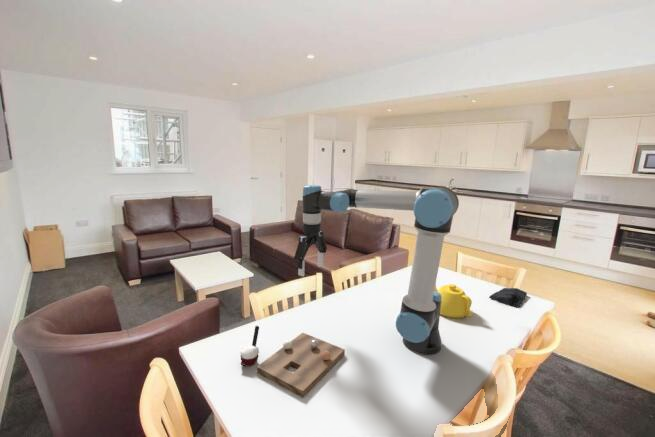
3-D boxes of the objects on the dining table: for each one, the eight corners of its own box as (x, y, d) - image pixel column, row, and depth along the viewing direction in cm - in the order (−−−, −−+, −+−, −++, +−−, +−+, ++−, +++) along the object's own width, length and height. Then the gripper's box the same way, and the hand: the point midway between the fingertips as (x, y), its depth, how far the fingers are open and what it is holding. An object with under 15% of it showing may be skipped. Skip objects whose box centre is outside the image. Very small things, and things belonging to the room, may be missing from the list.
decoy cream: (293, 347, 118) (293, 340, 118) (288, 352, 116) (288, 344, 115) (287, 345, 120) (287, 337, 120) (281, 349, 118) (281, 341, 117)
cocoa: (243, 373, 108) (241, 343, 105) (234, 363, 113) (233, 334, 110) (266, 360, 115) (265, 332, 112) (258, 352, 119) (256, 324, 116)
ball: (319, 347, 119) (320, 339, 119) (315, 351, 117) (315, 344, 116) (313, 344, 121) (313, 337, 120) (308, 348, 118) (308, 341, 118)
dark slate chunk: (531, 297, 174) (533, 289, 173) (517, 309, 160) (518, 301, 159) (502, 288, 185) (503, 281, 185) (486, 299, 171) (487, 291, 170)
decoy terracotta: (332, 358, 113) (332, 350, 112) (327, 363, 110) (327, 355, 109) (324, 355, 114) (325, 347, 114) (320, 360, 112) (320, 352, 111)
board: (344, 355, 119) (344, 349, 118) (302, 398, 97) (302, 391, 97) (302, 338, 129) (302, 332, 129) (256, 373, 108) (256, 366, 107)
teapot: (416, 304, 162) (418, 279, 160) (438, 296, 172) (440, 273, 169) (459, 326, 142) (462, 298, 139) (481, 316, 152) (484, 289, 149)
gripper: (321, 217, 142) (320, 261, 146) (284, 226, 122) (285, 277, 126) (335, 219, 138) (334, 264, 142) (299, 229, 118) (299, 282, 122)
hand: (311, 271), depth 134 cm, fingers open, 13 cm apart
